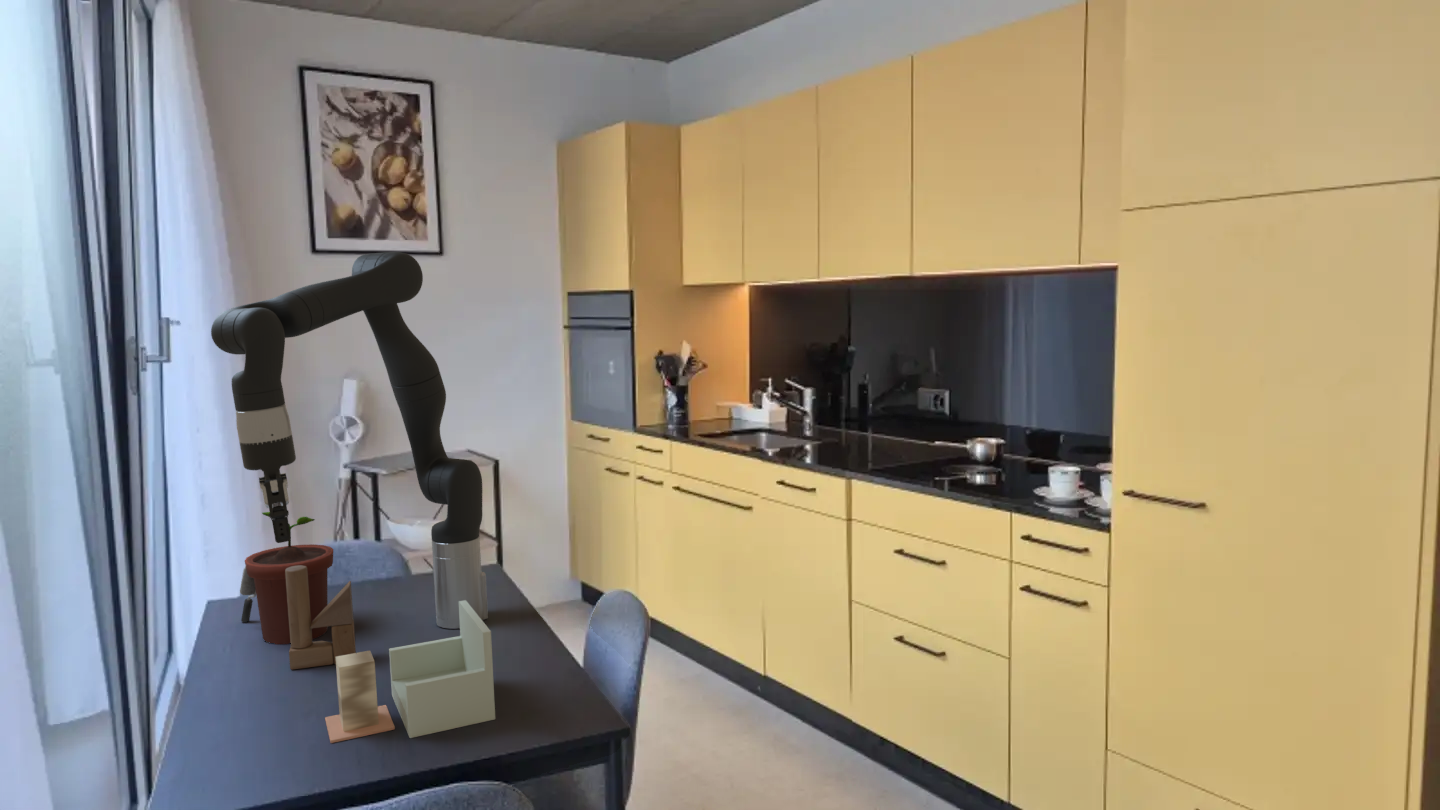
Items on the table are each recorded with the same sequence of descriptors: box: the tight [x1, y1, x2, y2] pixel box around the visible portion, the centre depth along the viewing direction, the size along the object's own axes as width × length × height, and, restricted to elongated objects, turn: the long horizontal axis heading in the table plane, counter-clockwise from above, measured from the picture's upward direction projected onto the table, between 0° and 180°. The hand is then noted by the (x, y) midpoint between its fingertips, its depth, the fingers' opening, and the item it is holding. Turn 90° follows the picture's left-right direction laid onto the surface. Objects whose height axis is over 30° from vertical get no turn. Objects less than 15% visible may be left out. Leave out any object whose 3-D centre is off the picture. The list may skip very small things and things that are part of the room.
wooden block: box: [285, 565, 357, 671], centre depth 169 cm, size 4×11×18 cm, turn 108°
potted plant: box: [239, 511, 334, 645], centre depth 186 cm, size 18×22×25 cm
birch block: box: [335, 650, 379, 732], centre depth 144 cm, size 5×5×10 cm
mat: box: [324, 704, 396, 744], centre depth 144 cm, size 9×9×1 cm
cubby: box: [388, 600, 496, 739], centre depth 149 cm, size 13×17×14 cm
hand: (282, 534), depth 150 cm, fingers open, 8 cm apart
